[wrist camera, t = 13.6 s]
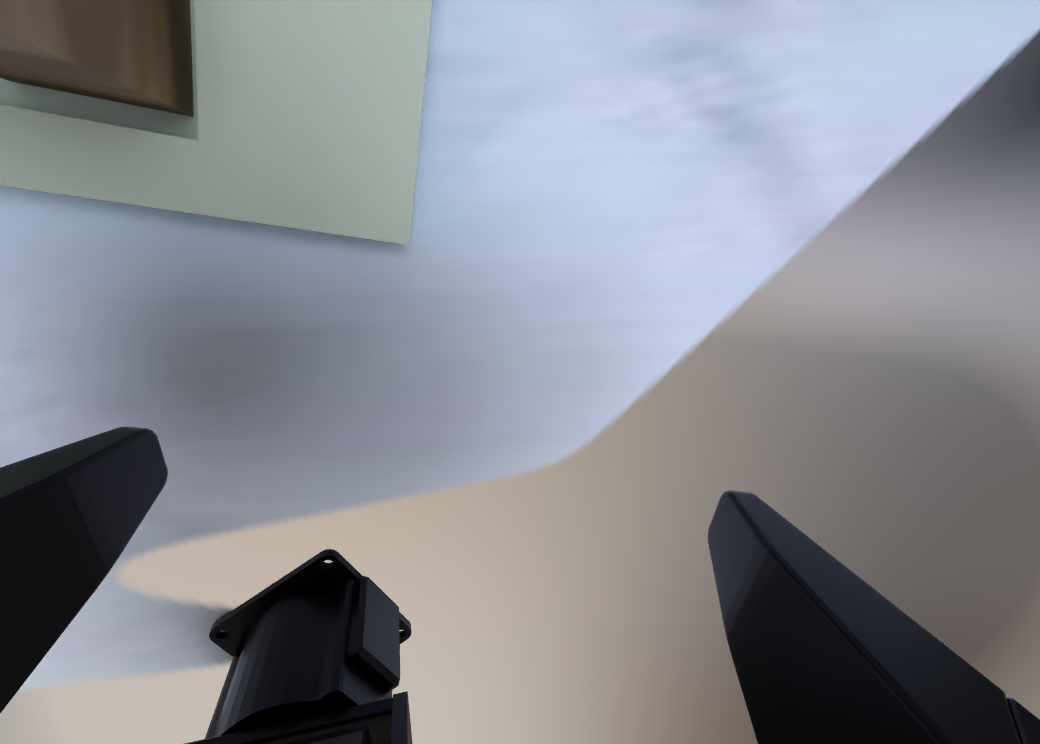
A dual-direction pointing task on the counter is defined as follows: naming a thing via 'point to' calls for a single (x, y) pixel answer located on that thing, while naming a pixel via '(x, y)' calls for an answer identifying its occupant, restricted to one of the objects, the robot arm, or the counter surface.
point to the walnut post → (102, 49)
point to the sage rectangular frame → (251, 122)
